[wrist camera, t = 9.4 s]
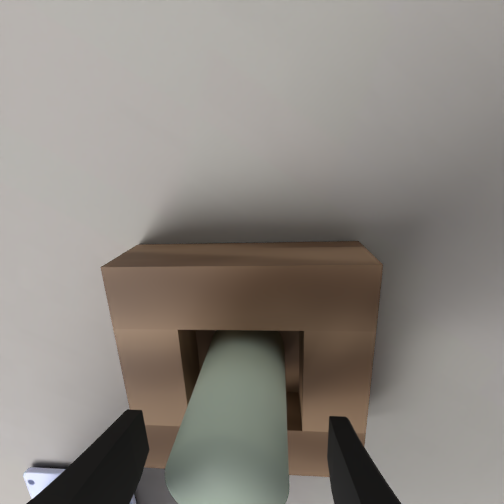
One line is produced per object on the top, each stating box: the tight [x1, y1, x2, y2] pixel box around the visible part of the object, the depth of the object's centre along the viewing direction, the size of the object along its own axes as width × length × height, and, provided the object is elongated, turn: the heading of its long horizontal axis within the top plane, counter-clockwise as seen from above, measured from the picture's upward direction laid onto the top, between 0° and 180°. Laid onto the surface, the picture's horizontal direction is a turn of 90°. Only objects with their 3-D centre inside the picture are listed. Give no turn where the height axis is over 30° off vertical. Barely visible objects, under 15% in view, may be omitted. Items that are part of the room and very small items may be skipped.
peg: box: [165, 330, 289, 504], centre depth 13 cm, size 4×4×7 cm
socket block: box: [101, 241, 383, 477], centre depth 15 cm, size 12×12×4 cm
